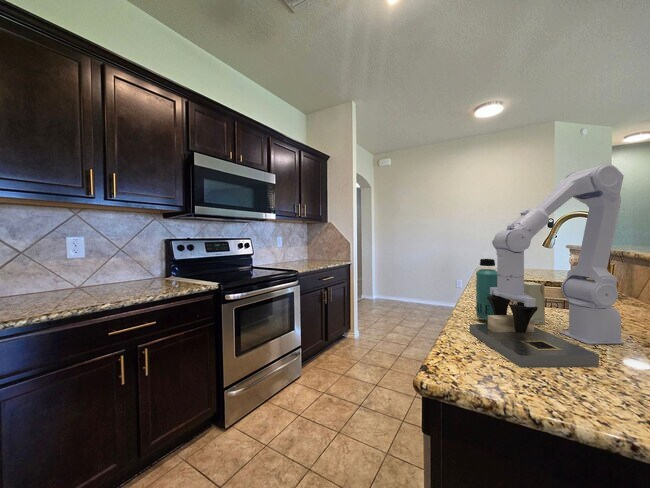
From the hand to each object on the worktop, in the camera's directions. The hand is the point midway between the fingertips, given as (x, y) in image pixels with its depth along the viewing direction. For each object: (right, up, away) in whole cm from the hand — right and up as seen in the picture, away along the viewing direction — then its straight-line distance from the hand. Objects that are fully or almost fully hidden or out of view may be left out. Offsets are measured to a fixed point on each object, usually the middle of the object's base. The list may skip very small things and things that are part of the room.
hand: (510, 327), depth 70 cm
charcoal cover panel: (0, -3, -5) cm, 6 cm away
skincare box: (+16, -3, +14) cm, 22 cm away
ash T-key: (0, -3, 0) cm, 3 cm away
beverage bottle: (+3, -3, +15) cm, 15 cm away
